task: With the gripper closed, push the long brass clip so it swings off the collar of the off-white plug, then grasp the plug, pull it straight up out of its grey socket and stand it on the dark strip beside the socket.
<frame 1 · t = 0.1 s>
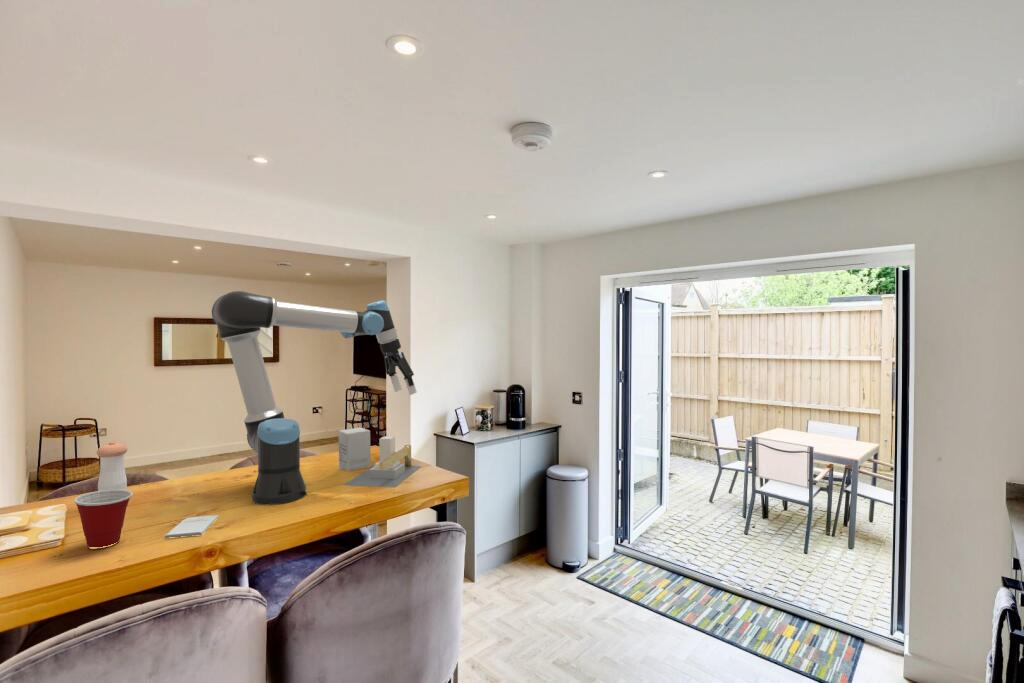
hand: (405, 392, 192), 28 cm above the table, tool tilted 20°, fingers open, 13 cm apart
clip: (396, 463, 170), point 5 cm above the table, hinge at 0.0°
grey base with socket: (384, 479, 170), on the table
plug: (387, 475, 170), point 1 cm above the table, touching grey base with socket
supplement box: (354, 470, 182), on the table
external hard drive: (193, 531, 127), on the table
pepper shaker: (112, 507, 145), on the table
plastic cup: (104, 545, 117), on the table
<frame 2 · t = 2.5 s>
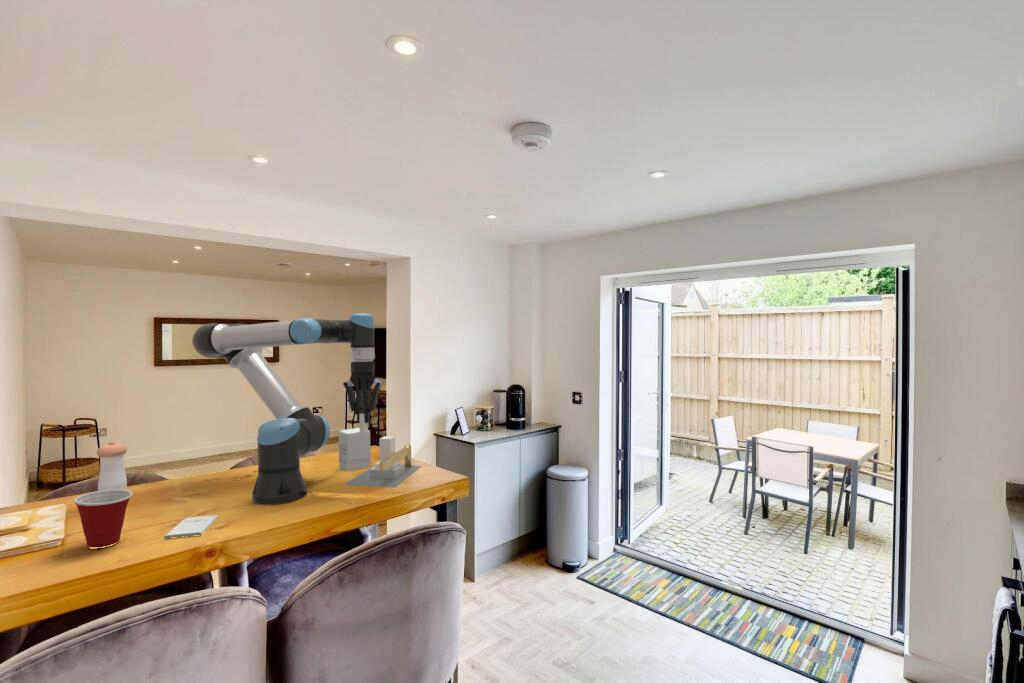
hand: (363, 432, 161), 18 cm above the table, tool pointing down, fingers closed
nothing on the table moved.
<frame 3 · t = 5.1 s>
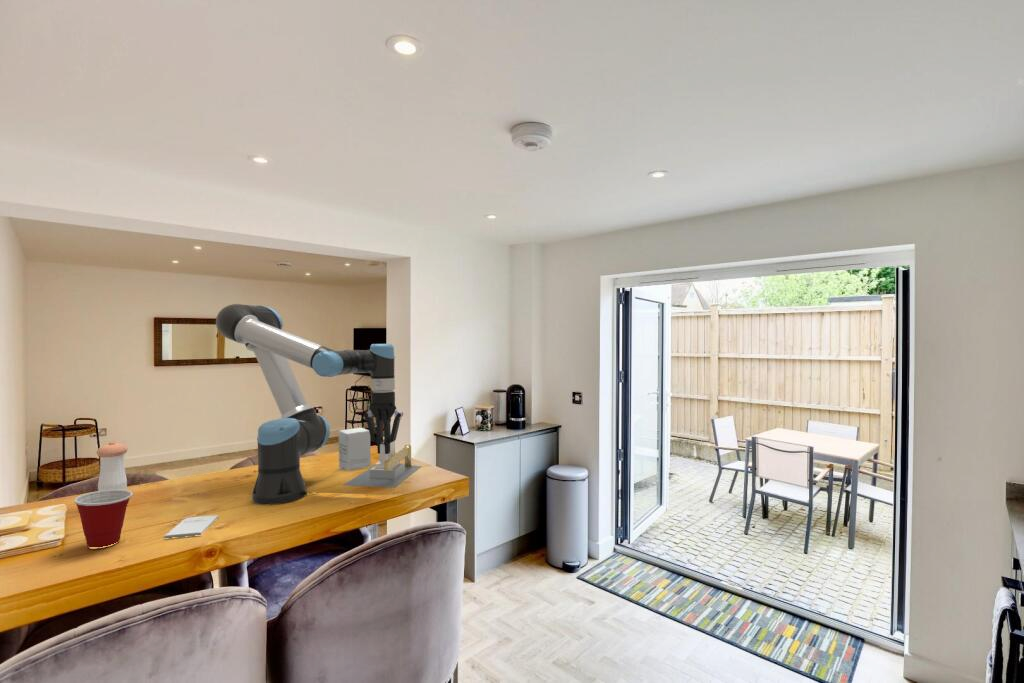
hand: (384, 463, 160), 8 cm above the table, tool pointing down, fingers closed
clip: (398, 463, 170), point 5 cm above the table, hinge at 3.8°, touching gripper
everything else where it was.
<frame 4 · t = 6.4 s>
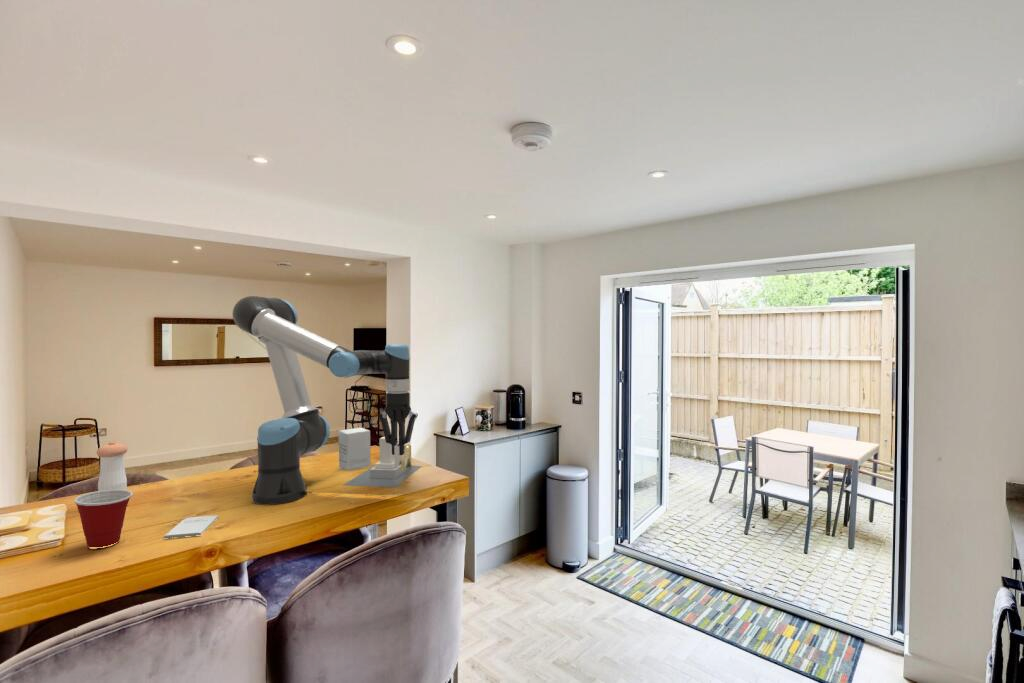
hand: (398, 464, 159), 8 cm above the table, tool pointing down, fingers closed
clip: (405, 463, 170), point 5 cm above the table, hinge at 16.6°, touching gripper
everything else where it was.
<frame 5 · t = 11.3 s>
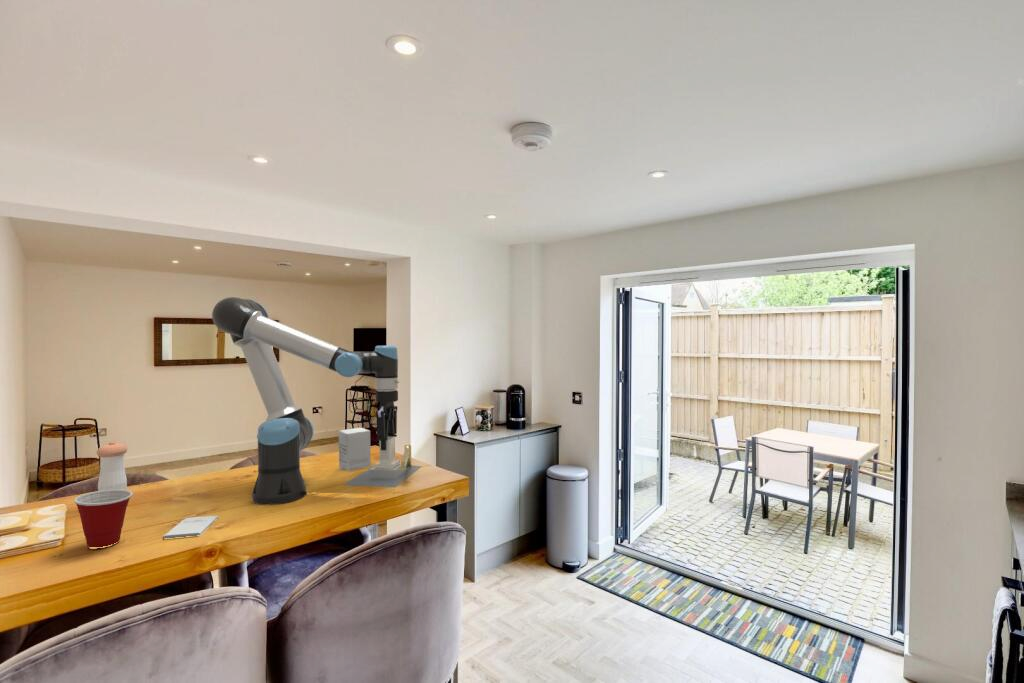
hand: (387, 457, 170), 8 cm above the table, tool pointing down, fingers closed on plug, 4 cm apart
clip: (405, 463, 170), point 5 cm above the table, hinge at 16.7°
plug: (387, 475, 170), point 2 cm above the table, touching gripper, grey base with socket
everything else where it was.
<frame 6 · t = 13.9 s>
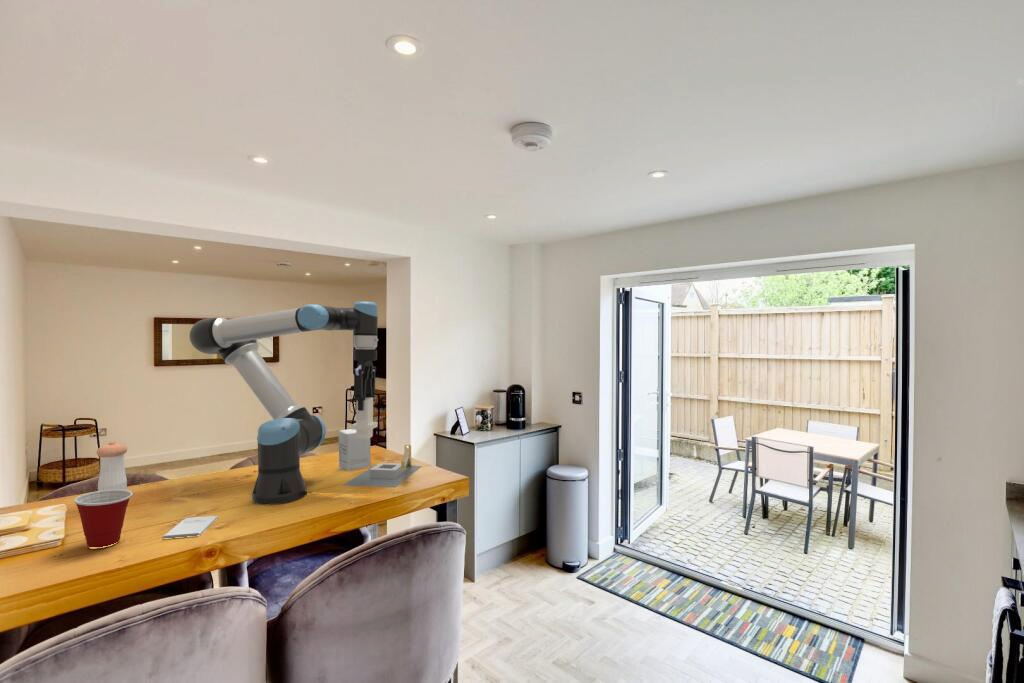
hand: (364, 418, 163), 22 cm above the table, tool pointing down, fingers closed on plug, 4 cm apart
plug: (364, 437, 163), point 16 cm above the table, touching gripper
everything else where it was.
when the fingers open (9 cm above the table, at t = 16.8 s): plug drops 2 cm, resting on grey base with socket.
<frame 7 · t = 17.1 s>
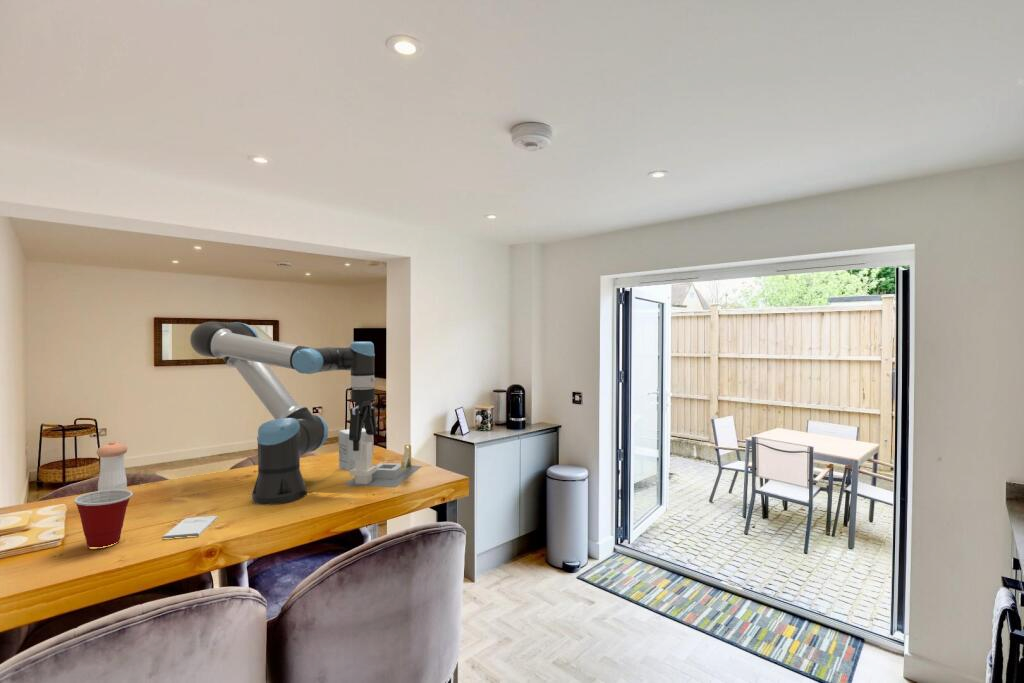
hand: (363, 457, 162), 10 cm above the table, tool pointing down, fingers open, 8 cm apart
plug: (363, 482, 162), point 1 cm above the table, touching grey base with socket
everything else where it was.
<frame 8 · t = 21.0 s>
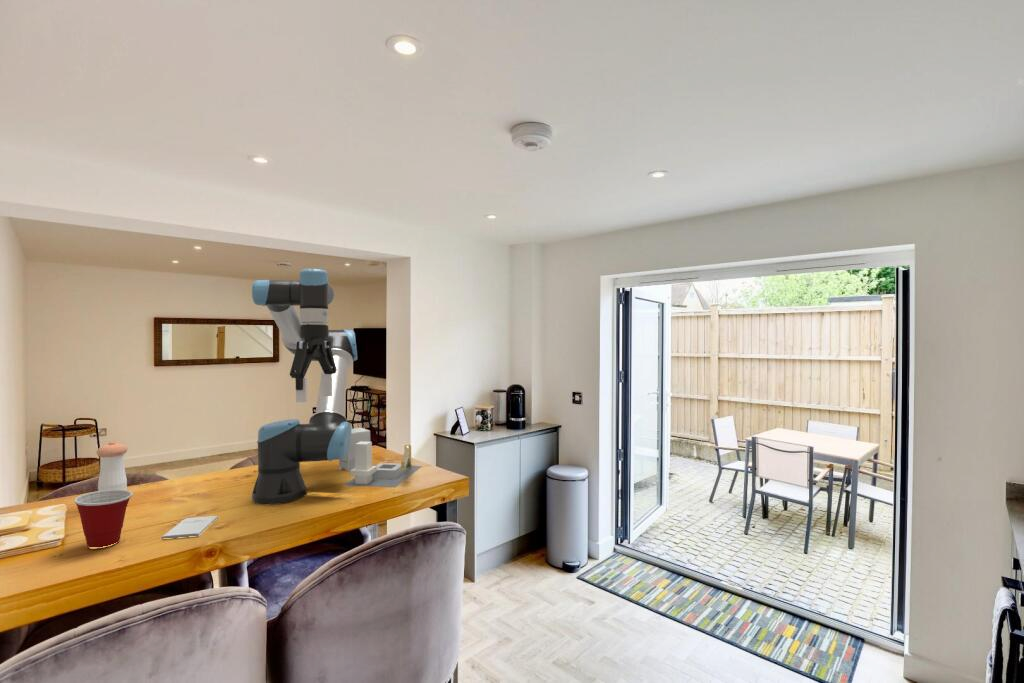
hand: (315, 399, 139), 32 cm above the table, tool pointing down, fingers open, 13 cm apart
nothing on the table moved.
at the end: clip at +17° (first picture: +0°); plug inside the target area (0.2 cm from its centre), point 1.5 cm above the table; plug tilted 0° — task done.
